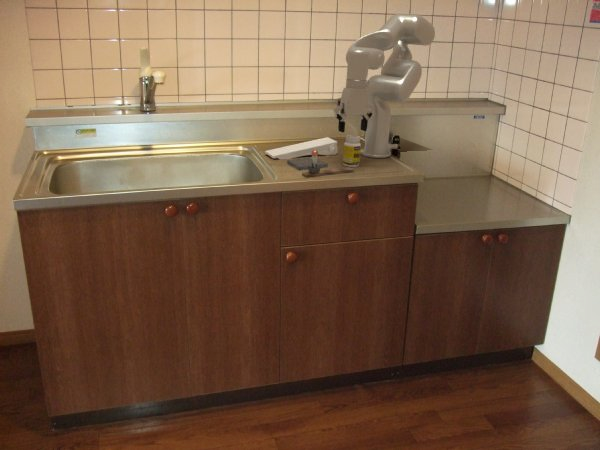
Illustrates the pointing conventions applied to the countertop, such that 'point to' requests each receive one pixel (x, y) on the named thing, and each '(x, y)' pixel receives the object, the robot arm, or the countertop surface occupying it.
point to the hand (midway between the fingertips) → (352, 131)
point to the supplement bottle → (352, 151)
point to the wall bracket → (305, 149)
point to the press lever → (314, 163)
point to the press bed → (305, 163)
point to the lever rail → (328, 172)
